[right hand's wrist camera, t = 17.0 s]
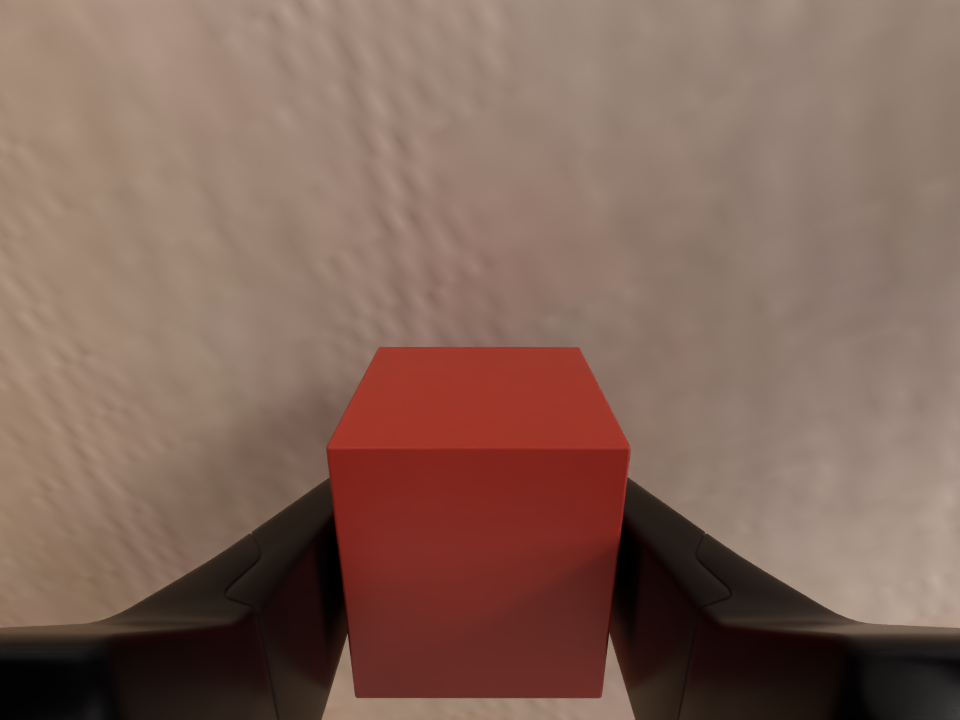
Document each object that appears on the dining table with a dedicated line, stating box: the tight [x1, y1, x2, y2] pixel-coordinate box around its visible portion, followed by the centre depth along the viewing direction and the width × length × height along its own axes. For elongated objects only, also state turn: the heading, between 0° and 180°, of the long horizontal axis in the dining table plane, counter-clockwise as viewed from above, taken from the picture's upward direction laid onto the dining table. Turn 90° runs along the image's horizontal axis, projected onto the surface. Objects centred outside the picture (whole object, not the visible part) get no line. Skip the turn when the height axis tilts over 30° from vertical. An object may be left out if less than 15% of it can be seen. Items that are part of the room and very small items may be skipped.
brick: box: [326, 347, 631, 698], centre depth 11 cm, size 4×5×4 cm
